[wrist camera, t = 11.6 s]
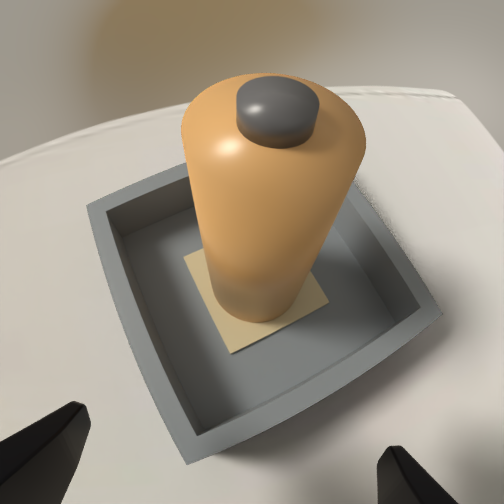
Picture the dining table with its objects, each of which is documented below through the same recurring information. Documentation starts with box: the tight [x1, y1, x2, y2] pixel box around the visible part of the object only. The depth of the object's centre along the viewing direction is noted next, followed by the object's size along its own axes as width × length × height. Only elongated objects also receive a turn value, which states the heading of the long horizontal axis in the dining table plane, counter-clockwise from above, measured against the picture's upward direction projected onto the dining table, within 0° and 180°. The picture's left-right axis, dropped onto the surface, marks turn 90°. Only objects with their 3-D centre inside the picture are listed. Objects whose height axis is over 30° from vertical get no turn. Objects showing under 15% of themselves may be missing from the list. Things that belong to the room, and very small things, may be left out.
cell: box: [181, 73, 366, 323], centre depth 12 cm, size 5×5×12 cm
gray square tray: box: [86, 163, 443, 465], centre depth 17 cm, size 14×14×4 cm
